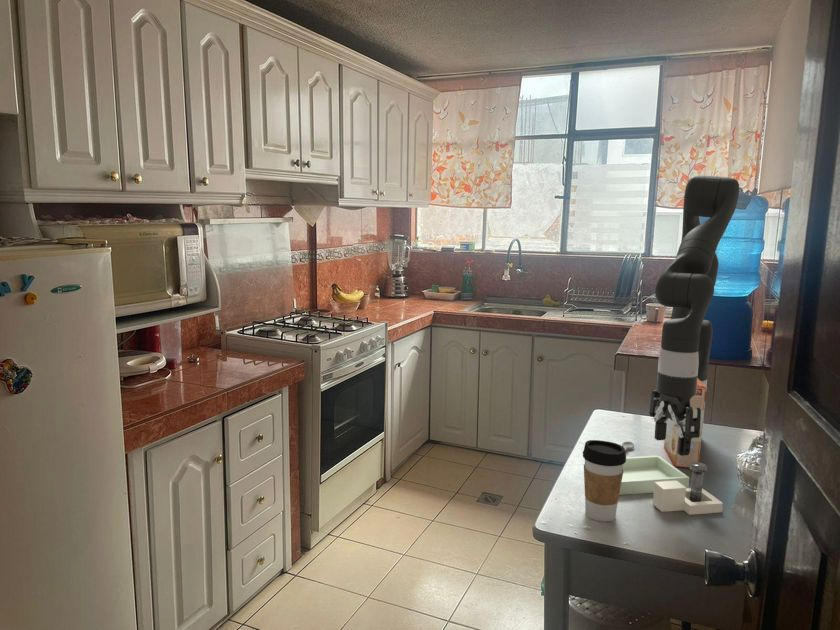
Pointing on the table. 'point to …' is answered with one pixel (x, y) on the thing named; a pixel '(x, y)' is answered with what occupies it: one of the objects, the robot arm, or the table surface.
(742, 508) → the table surface
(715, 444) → the table surface
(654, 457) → the tray
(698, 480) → the grey bolt
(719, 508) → the cream stepped holder
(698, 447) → the cracker box
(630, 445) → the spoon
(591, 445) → the coffee cup
